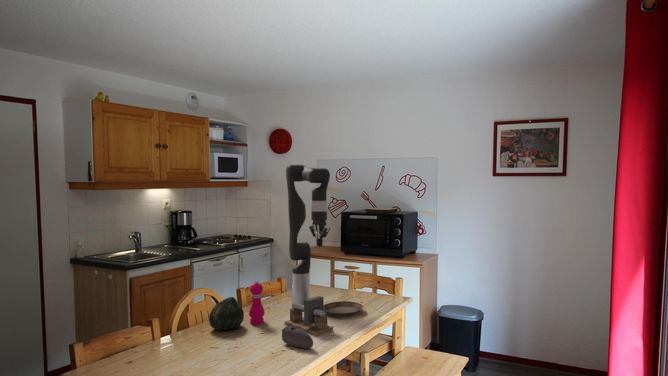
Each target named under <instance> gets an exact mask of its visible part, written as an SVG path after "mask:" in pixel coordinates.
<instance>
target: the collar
mask: <svg viewBox="0 0 668 376" xmlns="http://www.w3.org/2000/svg"><path fill="white" fill-rule="evenodd" d="M324 303H325V302H324V296H320V295H317V296H313V297H310V298H308V299H304V312H303V317H304V324H307V325H310V324H313V323H314V317H315V316H313V309H314V308H316V309H319V310H322V311H324V305H325V304H324Z"/></svg>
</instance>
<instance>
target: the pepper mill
mask: <svg viewBox="0 0 668 376" xmlns="http://www.w3.org/2000/svg"><path fill="white" fill-rule="evenodd" d="M249 291H250V293H251V294H250V295H251V296H250V297H251V298H252V299H251V300H252V301H251V306H250V308H249V311H248V316H249V317H250V319H249V322H250V325H262V324H264V319H265V318H264V316H265V308H264V306H263V304H262V297H263V293H262V292H263V291H264V287H263V285H262V284H261V283H260V282H259V280H257V279H255V280H254V283H252V284H251V285H250V287H249Z"/></svg>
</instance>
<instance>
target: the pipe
mask: <svg viewBox="0 0 668 376" xmlns="http://www.w3.org/2000/svg"><path fill="white" fill-rule="evenodd" d="M291 308H293V309H296V310H298V311H302V313H304V305H302V304H299V303H295V302H294V303H293V304H292V303H291ZM325 315H327V314H326V313H325V311H322V310H319V309H316V308H314V309H313V316H318V317H321V318H322V317H324V316H325Z"/></svg>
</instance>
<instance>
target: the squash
mask: <svg viewBox="0 0 668 376" xmlns="http://www.w3.org/2000/svg"><path fill="white" fill-rule="evenodd" d="M244 314H245V313H244V309H243V307H242V306H241V304H240V303H239V302H238V300H237V299H236V298H235V297H234V296H230V297H226V298H224V299H222V300H220V301H219V302H218V303H216V304H215V305H214V306H213V307H212V309H211V311H210V313H209V318H208V319H209V320H208V321H209V324H210V327H211V328H213V329H214V330H217V331H223V330H224V331H225V330H236V329H238V328H240V327H241V325H242V323H243V321H244V319H245V315H244Z"/></svg>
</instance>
